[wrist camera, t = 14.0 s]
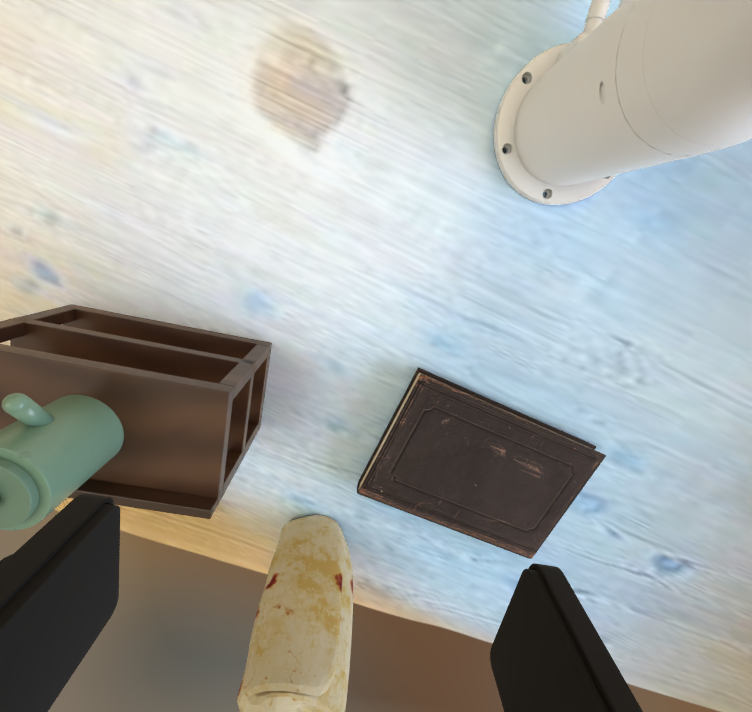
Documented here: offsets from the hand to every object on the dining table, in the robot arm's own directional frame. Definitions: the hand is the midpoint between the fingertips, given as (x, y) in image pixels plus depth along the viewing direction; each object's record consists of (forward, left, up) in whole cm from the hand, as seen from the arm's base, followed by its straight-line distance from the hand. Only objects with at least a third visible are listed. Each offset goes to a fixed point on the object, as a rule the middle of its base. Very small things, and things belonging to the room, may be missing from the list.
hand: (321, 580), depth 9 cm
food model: (+28, +1, -32) cm, 43 cm away
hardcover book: (+15, +17, -32) cm, 40 cm away
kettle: (+9, -18, -19) cm, 28 cm away
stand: (+10, -18, -32) cm, 38 cm away
